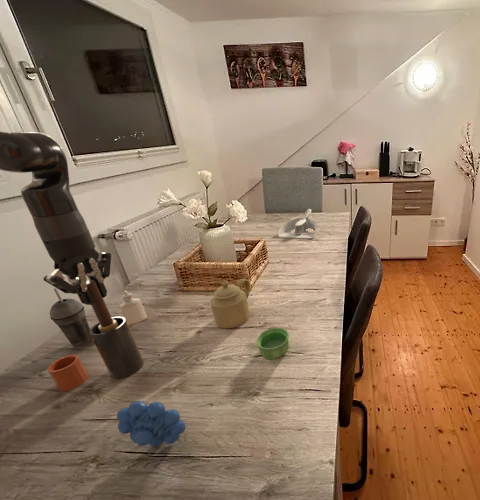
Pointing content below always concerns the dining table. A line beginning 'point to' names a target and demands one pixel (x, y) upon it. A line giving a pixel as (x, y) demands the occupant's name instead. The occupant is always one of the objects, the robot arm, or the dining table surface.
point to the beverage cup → (71, 320)
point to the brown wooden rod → (101, 309)
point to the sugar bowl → (231, 304)
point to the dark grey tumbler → (118, 349)
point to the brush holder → (68, 372)
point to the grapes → (150, 423)
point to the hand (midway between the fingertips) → (96, 300)
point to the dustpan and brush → (299, 227)
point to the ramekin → (273, 342)
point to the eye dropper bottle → (132, 309)
